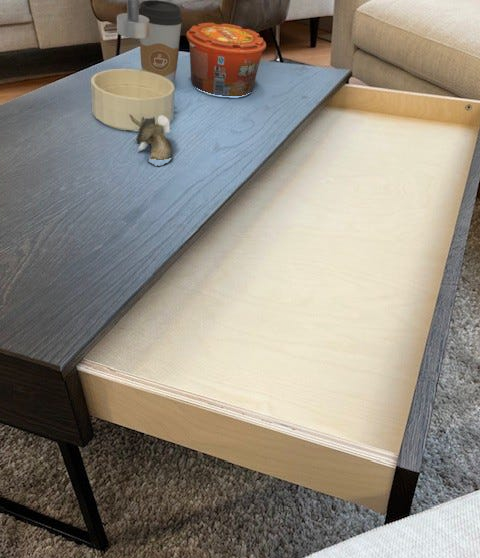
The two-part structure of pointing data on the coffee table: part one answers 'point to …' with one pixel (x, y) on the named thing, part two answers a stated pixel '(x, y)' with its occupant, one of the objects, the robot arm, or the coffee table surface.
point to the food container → (224, 58)
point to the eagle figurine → (154, 136)
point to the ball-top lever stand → (132, 22)
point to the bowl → (130, 97)
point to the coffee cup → (161, 38)
